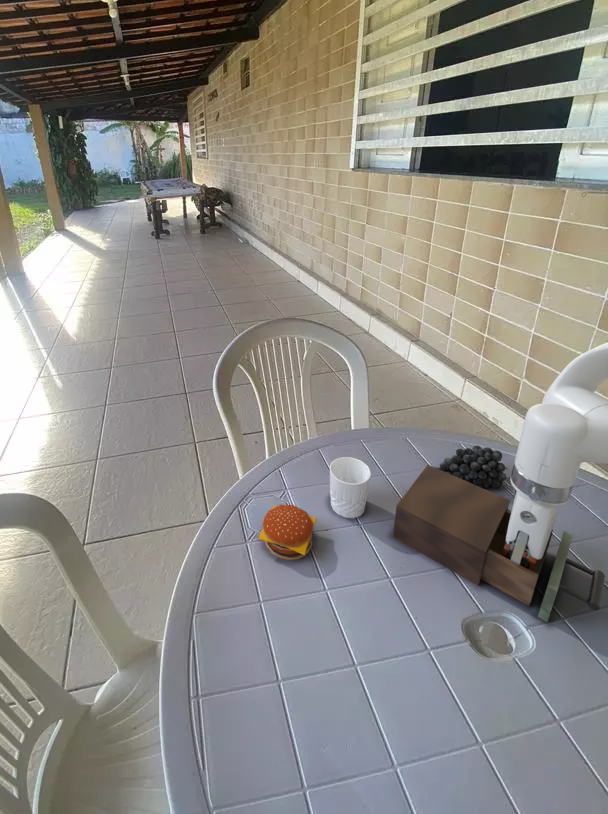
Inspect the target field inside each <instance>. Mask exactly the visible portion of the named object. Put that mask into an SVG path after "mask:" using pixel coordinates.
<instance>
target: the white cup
mask: <svg viewBox="0 0 608 814" xmlns="http://www.w3.org/2000/svg"><path fill="white" fill-rule="evenodd" d="M371 473H372V472H371V468H370V467H369V466H368V465H367V464H366V462H363V460H360V459H358V458H355V457H350V456H343V457H337V458H336V459H334V460H333V461H331V462H330V464H329V496H330V506H331V508H332V510H333V512H335V513H336V514H337V515H338V516H341V517H344V518H346V519H356V518H359V517H362V515H363V514H364V513H365V510H366V503H367V501H368V495H369V489H370V481H371V476H372V475H371Z"/></svg>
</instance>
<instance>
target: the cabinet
mask: <svg viewBox="0 0 608 814" xmlns="http://www.w3.org/2000/svg"><path fill="white" fill-rule="evenodd" d="M437 468H438V467H435V466H432V465H430V464H427V465H426V466H425V467H424V468H423V470H422V471H421V473H420V474H419V475H418V476H417V478H416V479H415V480H414V482H413V483H412V484H411V486H410V487H409V488H408V490H407V491H406V493H405V494H404V495H403V496H402V498H401V499H400V500H399V501H398V503H397V504H396V507H395V515H394V524H393V532H392V537H393V538H395V539H396V540H397V541H400V542H401V543H403V544H405V545H406V546H408V547H410V548H411V549H413V550H415V551H417V552H418V553H420V554H422V555H423V556H425V557H427V558H428V559H431V560H432V561H434V562H436V563H438V564H439V565H441V566H442V567H444V568H446V569H448V570H449V571H451V572H453V573H455V574H456V575H458V576H460V577H461V578H463V579H465V580H467V581H469V582H470V583H472V584H474V585H476V586H477V587H479V585H480V583H481V580H482V579H481V575H482V571H483V566H484V562H485V558H486V553H487V551H488V549H489V547H490V544H491V542H492V540H493V538H494V536H495V534H496V531H497V529H498V527H499V525H500V523H501V521H502V519H503V516H504V514H505V512H506V510H507V509H508V510H509V507H510V503H511V500H510V499H508V498H506V497H504V496H501V495H499V494H497V493H494V492H492V491H490V490H487V489H486V488H484V487H482V488H481V487H478V486H476V485H474V484H472V483H469V482H467V481H465V480H462V479H460V478H458V477H455V476H453V475H451V474H449V473H446V472H444V471H442V470H439V469H437Z"/></svg>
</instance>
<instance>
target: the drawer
mask: <svg viewBox="0 0 608 814" xmlns="http://www.w3.org/2000/svg"><path fill="white" fill-rule="evenodd" d="M511 511H512V510H511V509H509V508H508V509H507V510H506V512H505V514H504V516H503V519H502V521H501V523H500V525H499V527H498V529H497V531H496V534H495V536H494V538H493V540H492V542H491V544H490V547H489V549H488V551H487V553H486V558H485V562H484V566H483V571H482V575H481V579H480V580H482V581H483V582H486V583H487V584H489V585H490V586H492V587H494V588H496V589H497V590H499V591H501V592H503V593H504V594H507V595H508V596H510V597H512V598H514V599H515V600H517V601H519V602H521V603H522V604H524V605H526V606H528V607H530V606H531V603H532V599H533V596H534V593H535V590H536V588H537V587H536V586H537V583H538V580H539V578H540V574H541V572H542V568H543V565H544V563H545V560H546V557H547V553H548V549H549V546H550V543H551V540H552V536H553V532H554V528H552V530H551V534H550V537H549V540H548V543H547V545H546V548H545V551H544V554H543V557H542V558H541V559H538V560H537V563H536V566H535V569H534V572H532V571H530V570H528V569H527V568H525V567H523V566H521V565H517V564H516V563H514V562H512V561H510V560H509V559H507V558H505V557H503V556H502V552H503V548H504V546H505V544H506V535H507V530H508V525H509V520H510V516H511ZM573 536H574V534H573V533H571V532H568V531H566V530H563V533H562V535H561V539H560V542H559V545H558V548H557V552H556V554H555V559H554V562H553V565H552V569H551V571H550V575H549V577H548V582H547V585H546V588H545V591H544V595H543V599H542V601H541V604H540V608H539V611H538V615H537V617H538V618H539V619H541V620H543V621H544V622H546V623H548V622H549V618H550V616H551V612H552V609H553V606H554V604H555V600H556V597H557V594H558V591H559V590H560V591H562V592H564V593H566V594H568V595H570V596H571V597H573V598H575V599H577V600H579V601H581V602H583V603H584V604H586V605H587V607H588V608H589V609H590V610H592V611H594V612H599V611H600V609H601V604H602V597H603V591H604V585H605V579H606V574H605V573H604V572H603V571H601V570H599V569H595V570H593V569H591V568H589V567H586V566H585V565H582V564H581V563H578V562H577V561H574V560H572V559H570V558H568V554H569V551H570V547H571V543H572V540H573ZM566 564H567V565H569V566H571V567H573V568H575V569H577V570H579V571H582V572H584V573H586V574H587V575H590V576H592V577H591V581H590V587H589V592H588V595H587V596H588V597H587V596H585V595H583V594H581V593H579V592H577V591H575V590H573V589H571V588H569V587H567V586H566V585H564V584H562V583H561V579H562V577H563V573H564V569H565V565H566Z"/></svg>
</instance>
